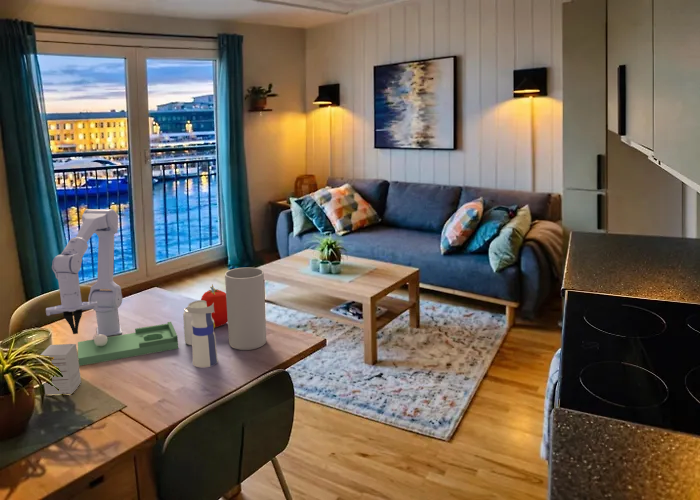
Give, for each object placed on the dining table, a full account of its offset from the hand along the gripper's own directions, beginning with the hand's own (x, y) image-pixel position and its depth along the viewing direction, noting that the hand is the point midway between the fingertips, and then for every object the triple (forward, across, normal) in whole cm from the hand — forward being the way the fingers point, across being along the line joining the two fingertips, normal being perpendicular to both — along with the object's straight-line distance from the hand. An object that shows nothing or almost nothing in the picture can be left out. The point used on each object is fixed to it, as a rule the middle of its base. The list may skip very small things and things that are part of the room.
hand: (75, 332), depth 179 cm
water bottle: (+9, +36, -21) cm, 43 cm away
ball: (+4, +7, 0) cm, 8 cm away
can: (+8, +36, -4) cm, 37 cm away
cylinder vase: (+9, +52, -13) cm, 54 cm away
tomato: (+8, +46, +7) cm, 47 cm away
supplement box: (+9, -4, -22) cm, 24 cm away
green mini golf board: (+8, +15, 0) cm, 17 cm away
